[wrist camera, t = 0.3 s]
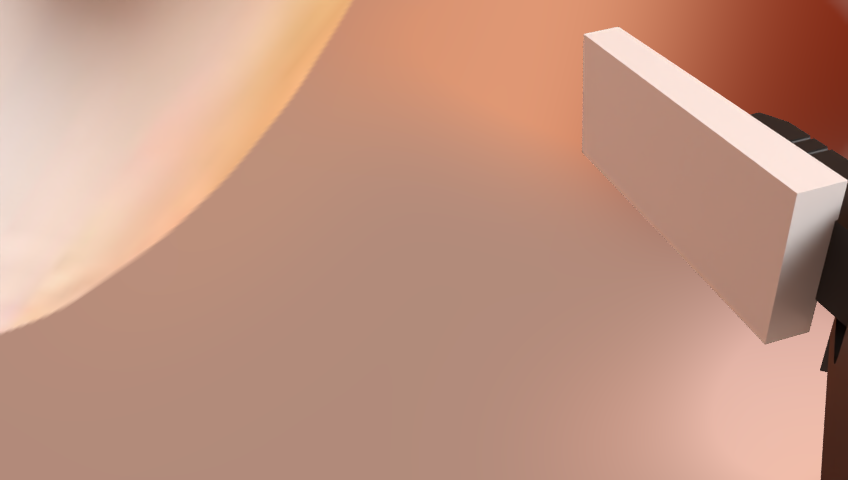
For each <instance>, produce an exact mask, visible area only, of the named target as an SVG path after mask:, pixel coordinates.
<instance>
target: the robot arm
mask: <svg viewBox="0 0 848 480" xmlns="http://www.w3.org/2000/svg"><path fill="white" fill-rule="evenodd" d="M583 61H584V62H583V129H582V152H583V154H584V155H585V156H586V157H587V158H588V159H589V160H590V161H591V162H592V163H593V164H594V165H595V166H596V167H597V168H598V169H599V170H600V171H601V172H602V173H603V175H604V176H605V177H606V178H607V179H608V180H609V181H610V182H611V183H612V184H613V185H614V186H615V187H616V188H617V189H618V190H619V191H620V193H621V194H623V196H624V197H625V198H626V199H627V200H628V201H629V202H630V203H631V204H632V205H633V206H634V207H635V208H636V209H637V210H638V211H639V213H641V215H642V216H643V217H644V218H645V219H646V220H647V221H648V222H649V223H650V224H651V225H652V226H653V227H654V228H655V229H656V230H657V231H658V232H659V233H660V235H662V237H663V238H664V239H665V240H666V241H667V242H668V243H669V244H670V245H671V246H672V247H673V248H674V249H675V250H676V251H677V252H678V254H679V255H680V256H681V257H682V258H683V259H684V260H685V261H686V262H687V263H688V264H689V265H690V266H691V267H692V268H693V269H694V270H695V271H696V272H697V273H698V275H699V276H700V277H701V278H702V279H703V280H704V281H705V282H706V283H707V284H708V285H709V286H710V287H711V288H712V289H713V290H714V291H715V292H716V293H717V294H718V296H719V297H720V298H721V299H722V300H723V301H724V302H725V303H726V304H727V305H728V306H729V307H730V308H731V309H732V310H733V311H734V312H735V313H736V314H737V316H738V317H740V319H741V320H742V321H743V322H744V323H745V324H746V325H747V326H748V327H749V328H750V329H751V330H752V331H753V332H754V333H755V334H756V336H758V337H759V339H760V340H761V341H762V342H763V343H764V344H768V343H772V342H775V341H779V340H782V339H786V338H789V337H793V336H796V335H800V334H803V333H807V332H809V330H810V326H811V322H812V319H813V314H814V311H815V307H816V303H817V301H818V302H819V303H820V304H821V305H822V306H823V307H825V308H826V309H827V310H828V311H829V312H830V313H831V314H833V315H834V316H835V319H834V322H833V326H832V329H831V333H830V336H829V340H828V344H827V347H826V351H825V354H824V358H823V362H822V365H821V368H820V370H821V371H825V372H828V373H827V374H828V375H827V391H826V406H825V421H824V436H823V452H822V468H821V480H848V160H847V159H846V158H844V157H843V156H841V155H839V154H838V153H836V152H835V151H833V150H828V149H827V146H825V145H823V144H822V143H821V142H819V141H817V140H816V139H810V135H808V134H806V133H805V132H803V131H801V130H800V129H799V128H797V127H796V126H794V125H792V124H791V123H789V122H787V121H784V120H781V119H778V118H775V117H772V116H769V115H765V114H762V113H755V114H751V115H749V114H748V113H746V112H745V111H743V110H742V109H741V108H739V107H737V106H736V105H735V104H733V103H732V102H730V101H729V100H727V99H726V98H724V97H722V96H721V95H719V94H718V93H717V92H715V91H714V90H712V89H711V88H709V87H708V86H706V85H705V84H703V83H701V82H700V81H699V80H697V79H696V78H694V77H693V76H691V75H690V74H688V73H687V72H685V71H684V70H682V69H681V68H679V67H678V66H676V65H675V64H673V63H672V62H670V61H669V60H667V59H666V58H664V57H663V56H661V55H660V54H658V53H657V52H655V51H654V50H652V49H651V48H649V47H648V46H646V45H645V44H643V43H642V42H640V41H639V40H637V39H636V38H634V37H633V36H631V35H630V34H628V33H627V32H625V31H624V30H622V29H621V28H619V27H615V28H611V29H606V30H601V31H597V32H591V33H587V34H584V56H583Z"/></svg>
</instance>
